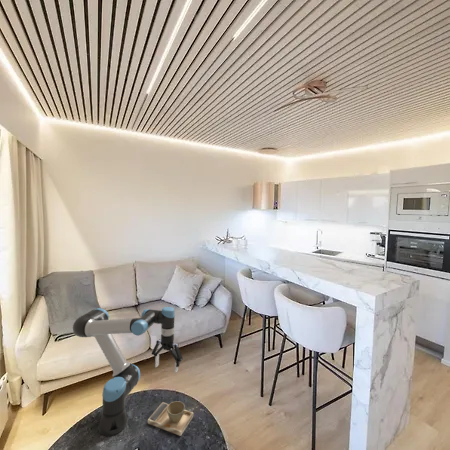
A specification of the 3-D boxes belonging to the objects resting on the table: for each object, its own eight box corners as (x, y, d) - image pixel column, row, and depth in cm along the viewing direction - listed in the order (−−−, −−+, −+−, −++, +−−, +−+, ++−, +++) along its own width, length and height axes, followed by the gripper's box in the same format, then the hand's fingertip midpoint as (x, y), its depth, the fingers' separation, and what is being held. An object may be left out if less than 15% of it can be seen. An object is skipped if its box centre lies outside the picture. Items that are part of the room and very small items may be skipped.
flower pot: (163, 424, 137) (164, 412, 137) (171, 411, 147) (171, 399, 147) (180, 428, 135) (180, 416, 135) (186, 414, 145) (187, 403, 145)
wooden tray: (147, 423, 139) (147, 418, 138) (162, 405, 152) (162, 401, 152) (180, 436, 131) (180, 431, 131) (193, 416, 145) (193, 411, 145)
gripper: (146, 332, 147) (145, 367, 147) (182, 340, 138) (181, 377, 138) (153, 327, 154) (152, 360, 154) (189, 335, 145) (187, 370, 145)
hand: (166, 369), depth 146 cm, fingers open, 13 cm apart
